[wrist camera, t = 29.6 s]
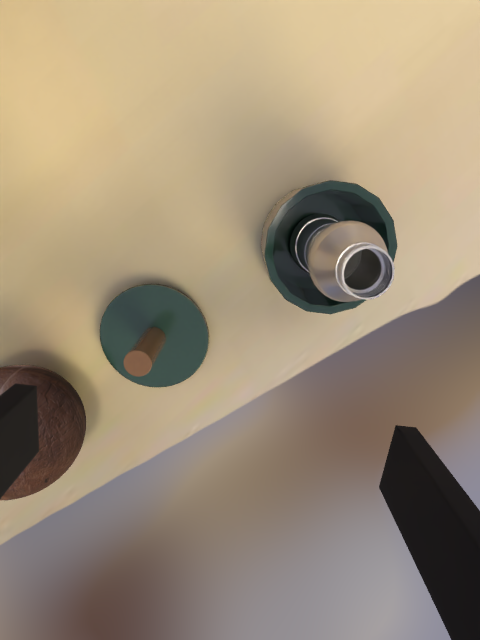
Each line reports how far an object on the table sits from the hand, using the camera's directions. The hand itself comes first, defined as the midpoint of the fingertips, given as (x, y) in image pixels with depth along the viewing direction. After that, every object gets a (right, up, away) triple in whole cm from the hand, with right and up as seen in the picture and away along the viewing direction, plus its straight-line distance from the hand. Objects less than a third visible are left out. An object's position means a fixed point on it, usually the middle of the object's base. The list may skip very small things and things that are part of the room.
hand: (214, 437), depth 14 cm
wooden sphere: (-25, -6, +39) cm, 46 cm away
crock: (+10, +14, +32) cm, 36 cm away
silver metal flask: (+10, +13, +31) cm, 35 cm away
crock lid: (-10, +2, +35) cm, 36 cm away
